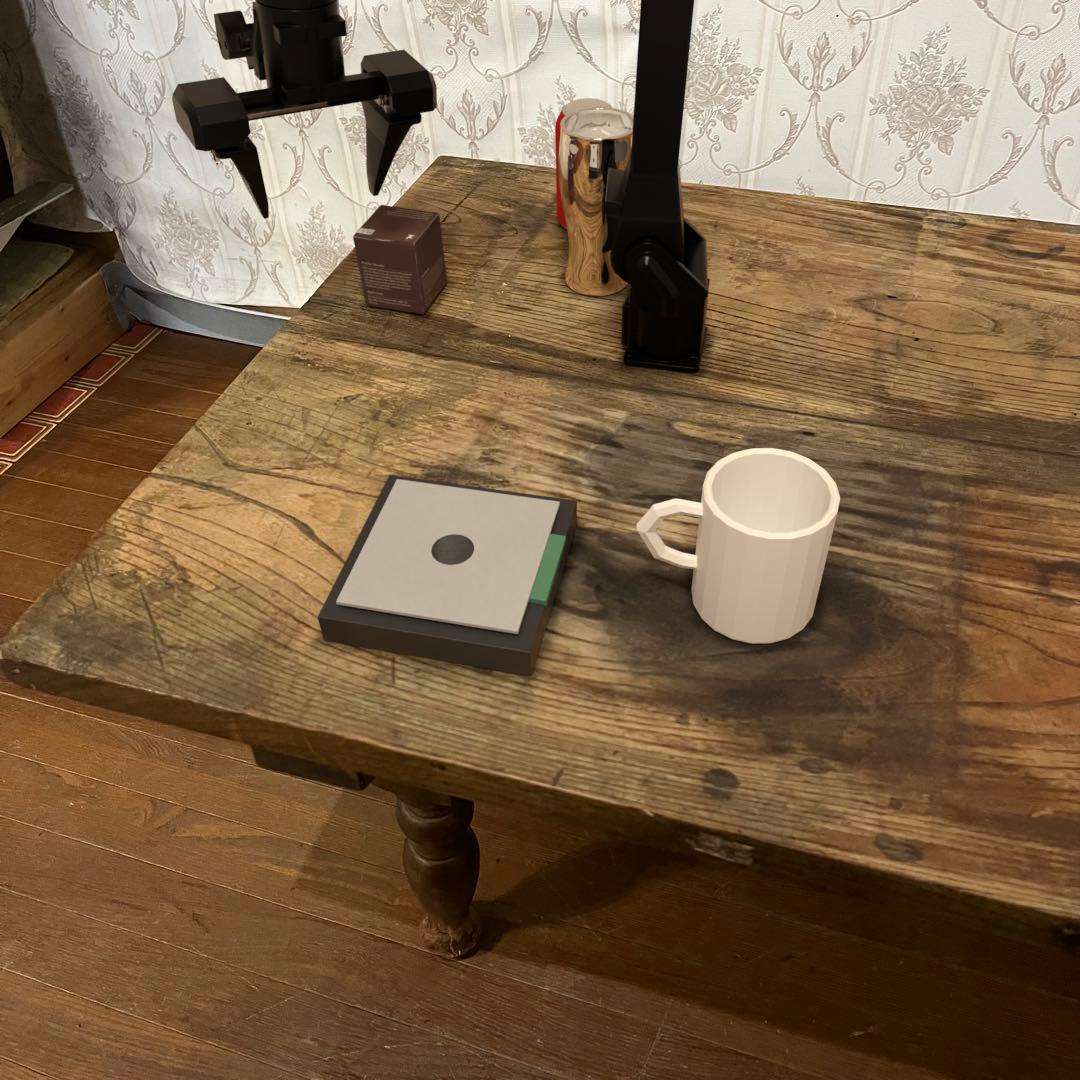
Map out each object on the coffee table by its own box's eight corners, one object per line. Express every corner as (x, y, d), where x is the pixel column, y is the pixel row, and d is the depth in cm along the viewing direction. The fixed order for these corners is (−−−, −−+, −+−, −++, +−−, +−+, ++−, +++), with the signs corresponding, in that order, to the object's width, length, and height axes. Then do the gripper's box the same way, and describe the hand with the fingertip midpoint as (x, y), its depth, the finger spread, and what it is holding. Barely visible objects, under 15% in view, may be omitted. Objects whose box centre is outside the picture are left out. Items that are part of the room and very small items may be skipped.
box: (449, 283, 98) (441, 211, 93) (423, 317, 94) (414, 244, 89) (391, 274, 100) (380, 203, 95) (363, 307, 96) (351, 234, 91)
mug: (629, 556, 72) (634, 448, 65) (802, 554, 72) (826, 445, 65) (636, 646, 66) (642, 538, 60) (824, 644, 66) (852, 535, 59)
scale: (578, 524, 75) (578, 494, 72) (533, 676, 65) (531, 646, 63) (393, 498, 77) (388, 467, 75) (323, 640, 68) (315, 610, 66)
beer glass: (628, 302, 95) (634, 142, 84) (554, 295, 96) (550, 137, 86) (638, 263, 100) (645, 107, 89) (567, 257, 101) (566, 103, 90)
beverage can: (618, 211, 107) (621, 94, 99) (616, 241, 103) (618, 121, 94) (559, 210, 108) (557, 93, 99) (554, 240, 103) (552, 121, 95)
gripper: (376, -53, 80) (388, 143, 91) (131, -25, 73) (176, 183, 85) (437, -6, 74) (442, 199, 85) (173, 29, 67) (216, 247, 78)
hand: (320, 204), depth 83 cm, fingers open, 9 cm apart
